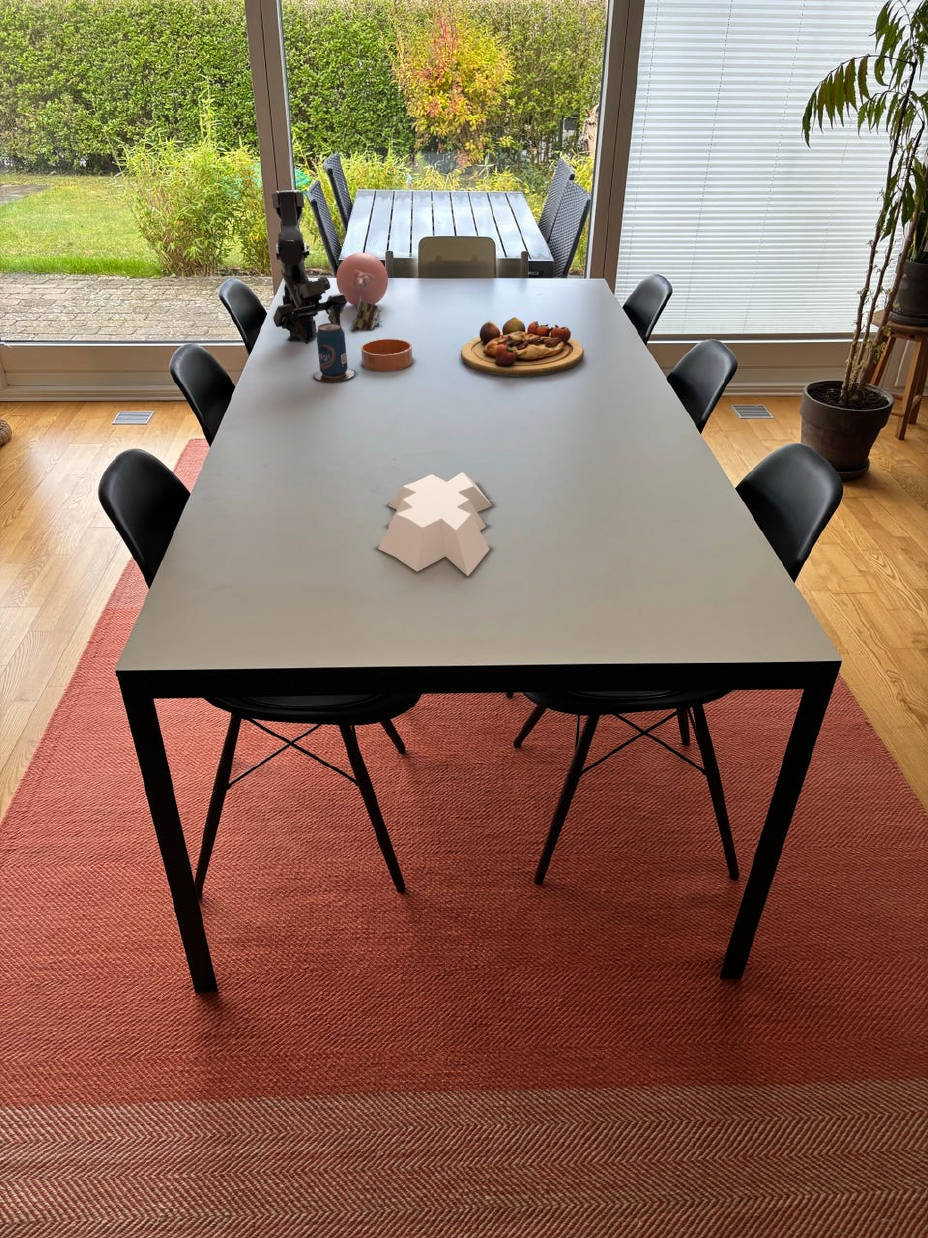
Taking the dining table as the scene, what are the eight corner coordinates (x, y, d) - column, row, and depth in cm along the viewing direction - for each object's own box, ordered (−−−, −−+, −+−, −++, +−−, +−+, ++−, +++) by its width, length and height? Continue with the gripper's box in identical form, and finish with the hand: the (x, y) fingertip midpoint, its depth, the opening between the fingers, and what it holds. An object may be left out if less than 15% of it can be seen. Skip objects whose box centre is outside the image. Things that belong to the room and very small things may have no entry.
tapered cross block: (393, 484, 195) (391, 458, 192) (493, 484, 194) (493, 458, 191) (371, 575, 166) (368, 547, 163) (488, 576, 165) (488, 547, 162)
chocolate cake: (376, 333, 276) (385, 295, 279) (351, 327, 275) (361, 288, 278) (373, 348, 286) (382, 310, 288) (349, 341, 285) (359, 304, 287)
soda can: (315, 376, 246) (309, 328, 240) (330, 367, 251) (326, 320, 245) (337, 380, 244) (333, 332, 237) (353, 371, 249) (349, 324, 242)
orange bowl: (355, 369, 251) (354, 353, 249) (372, 352, 262) (371, 337, 259) (403, 372, 248) (402, 356, 246) (418, 356, 259) (417, 340, 256)
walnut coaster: (308, 381, 245) (308, 379, 244) (323, 367, 253) (323, 366, 252) (345, 384, 242) (345, 382, 242) (360, 370, 250) (359, 368, 250)
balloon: (334, 318, 288) (329, 264, 279) (341, 299, 305) (337, 247, 296) (386, 317, 288) (383, 263, 279) (391, 298, 304) (388, 246, 296)
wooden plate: (538, 388, 237) (539, 354, 233) (435, 363, 254) (434, 331, 249) (606, 351, 258) (608, 320, 254) (507, 331, 275) (507, 301, 270)
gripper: (272, 272, 236) (298, 329, 234) (340, 259, 244) (366, 314, 243) (262, 298, 246) (287, 353, 244) (328, 285, 254) (353, 338, 253)
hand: (324, 339), depth 246 cm, fingers open, 9 cm apart
